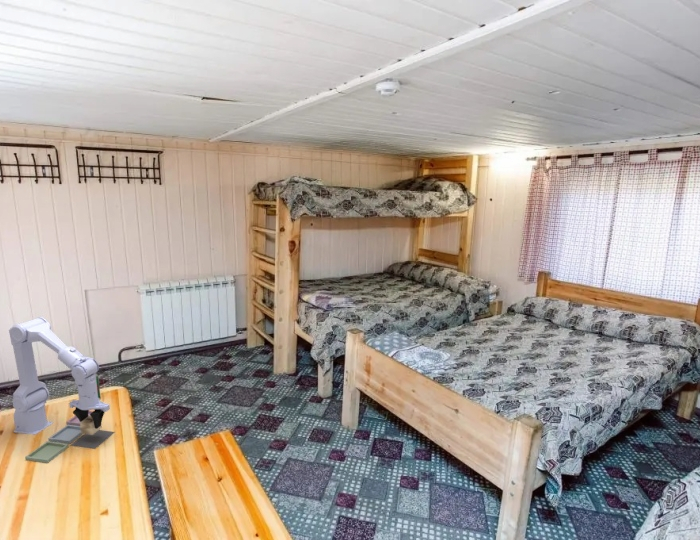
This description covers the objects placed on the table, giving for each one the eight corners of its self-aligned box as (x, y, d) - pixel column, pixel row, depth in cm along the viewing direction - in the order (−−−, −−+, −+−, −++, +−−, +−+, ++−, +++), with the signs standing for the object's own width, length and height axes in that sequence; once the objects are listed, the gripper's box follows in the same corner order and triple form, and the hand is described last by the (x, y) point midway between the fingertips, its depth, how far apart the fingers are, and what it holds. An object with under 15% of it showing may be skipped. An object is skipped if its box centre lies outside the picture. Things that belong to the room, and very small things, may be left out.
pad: (70, 446, 142) (69, 445, 142) (91, 429, 152) (91, 428, 152) (95, 449, 141) (95, 448, 141) (115, 432, 151) (115, 431, 150)
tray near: (25, 460, 134) (25, 457, 134) (47, 445, 142) (47, 441, 142) (48, 464, 133) (47, 460, 133) (68, 447, 141) (68, 444, 141)
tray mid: (48, 442, 144) (48, 438, 144) (68, 428, 152) (67, 424, 152) (69, 444, 143) (69, 441, 143) (88, 430, 151) (87, 427, 151)
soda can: (103, 397, 174) (100, 372, 172) (94, 403, 169) (92, 377, 167) (92, 396, 175) (89, 371, 172) (83, 402, 170) (81, 376, 167)
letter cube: (81, 433, 143) (80, 422, 142) (91, 426, 148) (89, 415, 147) (92, 435, 143) (91, 423, 142) (101, 427, 147) (100, 416, 146)
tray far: (66, 425, 154) (66, 421, 154) (83, 413, 162) (83, 409, 162) (86, 427, 153) (86, 424, 152) (102, 415, 161) (102, 412, 161)
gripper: (114, 389, 145) (117, 422, 148) (78, 385, 147) (82, 417, 150) (99, 399, 138) (103, 433, 141) (62, 394, 140) (67, 428, 143)
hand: (91, 426), depth 145 cm, fingers closed on letter cube, 5 cm apart
